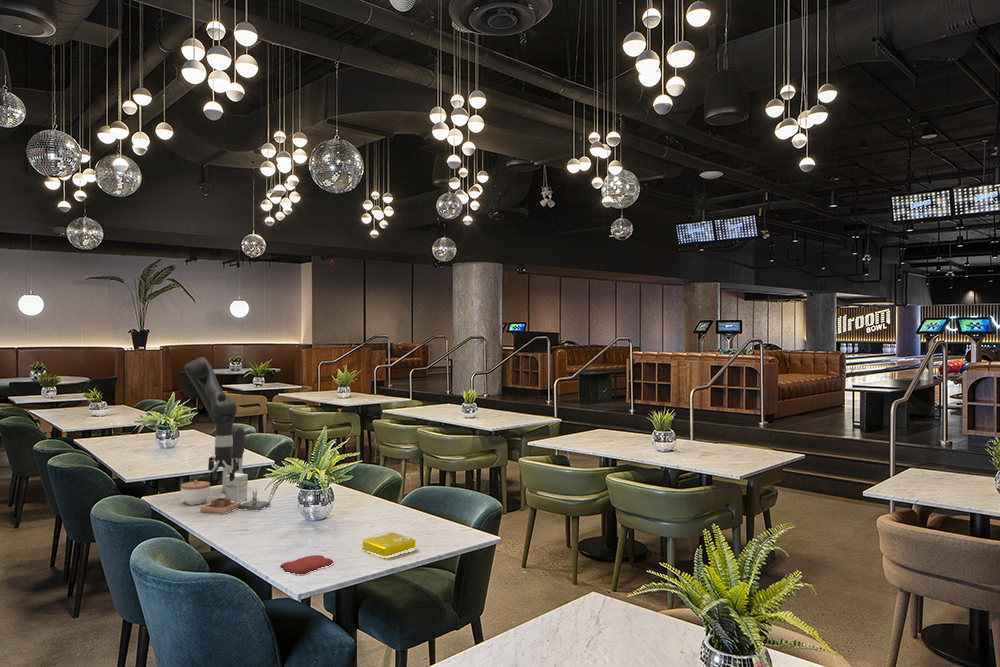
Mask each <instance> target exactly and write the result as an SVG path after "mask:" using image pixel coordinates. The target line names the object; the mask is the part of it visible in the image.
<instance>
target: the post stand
mask: <svg viewBox="0 0 1000 667" xmlns="http://www.w3.org/2000/svg"><path fill="white" fill-rule="evenodd" d="M257 497H258V490H257V489H254V490H252V500H249V501H247V502H246V501H245V502H244V503H241V504H240V505H238V509H247V510H259V509H262V508H264V507H267V506H269V505H270V506H271V501H263V500H257V499H258V498H257ZM270 506H269V507H270ZM267 508H268V507H267ZM238 509H237V510H238ZM247 510H246V511H247ZM262 510H263V509H262Z"/></svg>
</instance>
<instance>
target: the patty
mask: <svg viewBox="0 0 1000 667" xmlns="http://www.w3.org/2000/svg"><path fill="white" fill-rule="evenodd" d="M333 562H334V560H332V559H331V558H329V557H328V558H327V557H325V556H323V555H321V554H320V555H319V554H316V555H308V556H304V557H299V558H297V559H296V560H293V561H292V560H291V561H287V562H283V563H282V564H281V565H280V567H281V568H283V569H282V571H283V570H284V571H285V572H290V573H295V574H306V573H308V572H310V571H314V570H317V569H318V568H321V567H325V566H329V565H331V564H332V563H333ZM280 567H279V568H280ZM281 568H280V569H281ZM318 570H319V569H318ZM318 570H317V571H318ZM285 572H284V573H285ZM314 572H315V571H314ZM310 573H311V572H310Z"/></svg>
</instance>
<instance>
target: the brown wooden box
mask: <svg viewBox="0 0 1000 667" xmlns="http://www.w3.org/2000/svg"><path fill="white" fill-rule="evenodd" d="M210 503H211V507H215V508H225V507H228V506H230V505H231V499H229V498H225V497H219V498H218V497H217V498H215V499H212V500H211V499H210Z"/></svg>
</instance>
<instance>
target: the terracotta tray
mask: <svg viewBox="0 0 1000 667" xmlns="http://www.w3.org/2000/svg"><path fill="white" fill-rule="evenodd" d="M241 504H242V503H241V502H231V505H230V506H228V507H225V508H215V507H211V502H210V503H208V504H204V505H202V506H200V507H199V512H207V513H206V514H212V513H220V514H219V515H225V514H224V513H226V512H229V511H231V512H233V511H232V510H234V509H237V508H238V505H241ZM237 510H238V509H237ZM234 511H235V510H234ZM229 513H230V512H229ZM226 514H227V513H226Z"/></svg>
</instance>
